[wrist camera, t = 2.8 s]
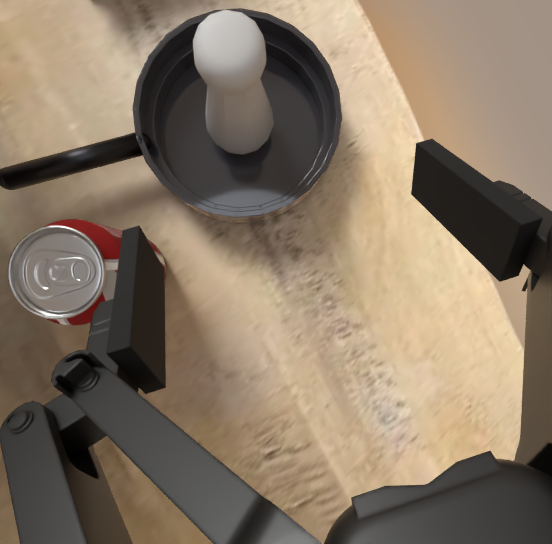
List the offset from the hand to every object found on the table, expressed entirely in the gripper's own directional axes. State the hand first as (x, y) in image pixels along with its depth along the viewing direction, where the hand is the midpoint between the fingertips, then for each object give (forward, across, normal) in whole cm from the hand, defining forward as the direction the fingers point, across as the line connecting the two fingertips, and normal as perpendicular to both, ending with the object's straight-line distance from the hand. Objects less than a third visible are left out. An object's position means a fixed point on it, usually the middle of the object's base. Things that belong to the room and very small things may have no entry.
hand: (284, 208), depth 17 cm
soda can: (+13, -13, -11) cm, 21 cm away
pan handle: (+18, -14, -2) cm, 23 cm away
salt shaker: (+19, 0, -4) cm, 19 cm away
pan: (+19, 0, -4) cm, 20 cm away
